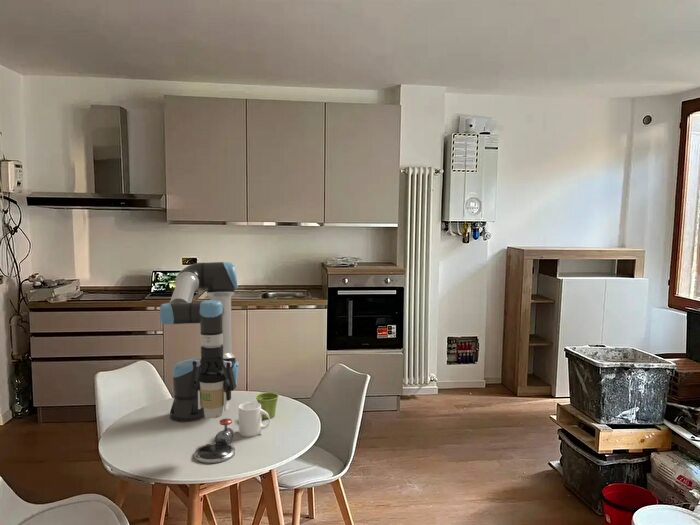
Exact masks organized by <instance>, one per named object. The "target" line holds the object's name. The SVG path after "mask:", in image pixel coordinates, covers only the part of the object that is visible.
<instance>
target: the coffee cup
mask: <svg viewBox="0 0 700 525" xmlns="http://www.w3.org/2000/svg"><path fill="white" fill-rule="evenodd" d="M226 379H227V375H226V374H225V372H224V374H222V375H217V374H216V372H208V373H206V374H205V375H203V374H202V373H200V377H199V378H198V381H199V382H200V391H201V398H202V404H203V408H204V415H205V417H204V418H206V419H219V418H221V417H222V416H223V414H224V391H226V390H225V388H224V386H223V381H224V380H226Z"/></svg>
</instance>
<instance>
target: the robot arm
mask: <svg viewBox="0 0 700 525" xmlns="http://www.w3.org/2000/svg"><path fill="white" fill-rule="evenodd" d="M174 285H175V287H174V289H173V292H172V295H171V298H170V301H169V302H167V303H161V304H160V308H159V320H160V323H161V324H162V325H171V326H172V325H188V324H200V326H199V327H200V345H201V347H200V356H201V357H200V358H189V359H185V360H182V361H179V362H178V363H176V364H174V366H173V372H172V379H173V380H172V381H173V401H172V403H171V408H170V411H169V418H170V419H171V421H174V422H177V423H178V422H179V423H189V422H190V423H191V422H196V421H200V420H202V419H204V418H206V417H205V415H204V408H203V404H202V398H201V391H200V382H199V381H198V378H199V377H200V373H202V374H203V375H205V374H206V373H208V372H216V374H217V375H222V374H224V372H225V374H226V375H227V379H226V380H224V381H223V386H224V388H225V391H224V406H223V412H225V411H226V412H227V411H228V409H229V408H230V400H232V391H234V390H235V389H236V388H237V381H238V375H239V374H238V373H239V365H240V362H239V361H238V360H236V355H234V354H233V352H232V349H233V348H232V347H233V346H232V344H233V343H232V341H233V339H232V296H234V294H235V293H236V292H235V291H236V290H238V288H239V286H238V285H239V284H238V278H237V272H236V268H235V264H234V263H233V262H229V261H227V262H225V261H220V262H218V261H216V262H215V261H214V262H196V263H192V264H190V265H188V266H186V267H184V268H183V269H181V270H180V271H179V272H178V274H177V275H176V278H175V280H174ZM198 290H201V291H202V290H203V291H204V290H205V291H206V294H207V295H208V297H209V298H210V299H208V300H203V301H201V302H192V301H193V297H194V294H195V292H196V291H198Z"/></svg>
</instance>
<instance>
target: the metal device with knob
mask: <svg viewBox="0 0 700 525" xmlns="http://www.w3.org/2000/svg"><path fill="white" fill-rule="evenodd" d="M232 423H233V420H232V419H231V418H221V419H220V420H219V424H220V425H221V426H224V429H223V430H220V431H218V432H217V433H216V434H215V436H214V443H207V444H204V445H203V446H201V447H198V448H197V449H196V450H195V451H194V454H193V458H194V460H195V461H196V462H198V463H201V464H206V465H207V464H208V465H212V464H219V463H223V462H227V461H229V460H231V459H232V458H233V457H234V456H236V448H235V447H234V445H233V444H231V443H232V440H233V438H234V435H235V434H234V433H235V432H234V429H232V428H231V427H228V425H231V424H232Z"/></svg>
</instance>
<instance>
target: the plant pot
mask: <svg viewBox="0 0 700 525" xmlns="http://www.w3.org/2000/svg"><path fill="white" fill-rule="evenodd" d="M278 398H279V394H278V393H276V392H263V393H262V392H261V393H259V394H256V396H255V399H256V402H257V403H260V404H261V409H263V410H264V411H266V412H267V413H268V415H269V417H270V419H272V417H273V418H274V417H275V416H276V408H277V402H278ZM265 418H267V419H268V417H267V416H266V415H264V414H261V419H265Z"/></svg>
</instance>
